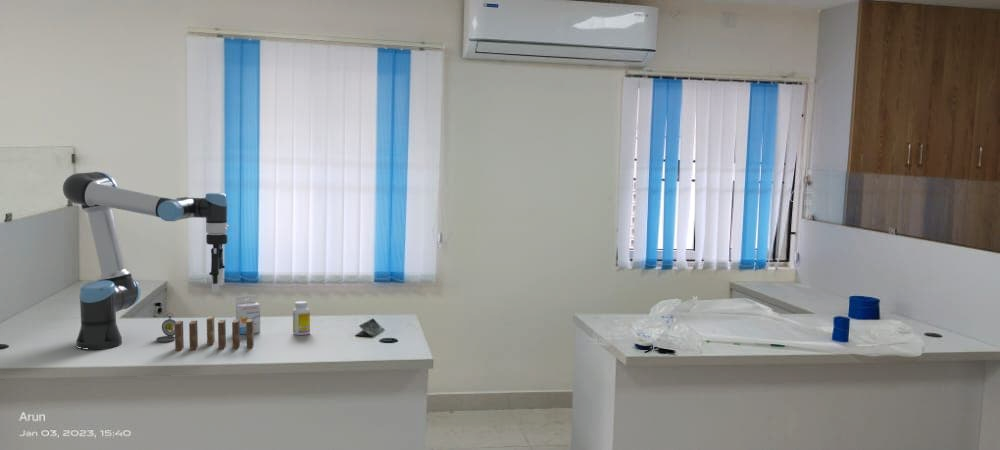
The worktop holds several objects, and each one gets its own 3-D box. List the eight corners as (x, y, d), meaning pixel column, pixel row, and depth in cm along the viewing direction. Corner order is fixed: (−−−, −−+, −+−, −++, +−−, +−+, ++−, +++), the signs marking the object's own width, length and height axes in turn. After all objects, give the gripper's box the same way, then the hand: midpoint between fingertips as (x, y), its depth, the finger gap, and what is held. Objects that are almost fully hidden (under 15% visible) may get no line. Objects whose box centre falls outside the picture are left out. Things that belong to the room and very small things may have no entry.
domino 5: (246, 348, 293) (246, 322, 292) (248, 345, 298) (247, 319, 297) (252, 348, 294) (251, 321, 293) (253, 344, 299) (253, 318, 298)
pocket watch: (157, 343, 299) (156, 317, 298) (155, 338, 306) (154, 313, 305) (180, 341, 302) (179, 315, 301) (178, 336, 310) (177, 311, 309)
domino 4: (232, 348, 292) (232, 322, 291) (234, 345, 297) (233, 319, 296) (238, 348, 293) (237, 322, 292) (239, 345, 298) (239, 319, 297)
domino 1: (175, 350, 288) (174, 324, 287) (178, 347, 293) (177, 321, 292) (181, 350, 289) (180, 323, 288) (183, 347, 294) (183, 320, 293)
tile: (207, 345, 297) (206, 319, 296) (209, 341, 302) (208, 316, 301) (212, 344, 298) (212, 318, 297) (214, 341, 302) (214, 316, 301)
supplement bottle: (313, 332, 319) (313, 301, 318) (302, 336, 313) (302, 304, 312) (300, 331, 322) (299, 300, 320) (289, 334, 316) (289, 302, 314)
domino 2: (189, 350, 289) (189, 323, 288) (192, 346, 294) (191, 320, 293) (195, 350, 290) (194, 323, 289) (197, 346, 295) (197, 320, 294)
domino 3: (218, 349, 291) (217, 322, 290) (220, 345, 296) (219, 319, 295) (224, 349, 292) (223, 322, 291) (225, 345, 297) (225, 319, 296)
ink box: (239, 335, 313) (238, 298, 312) (236, 332, 318) (235, 296, 316) (260, 332, 318) (260, 296, 317) (257, 330, 322) (256, 294, 321)
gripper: (223, 237, 289) (224, 294, 291) (230, 229, 313) (230, 282, 315) (202, 237, 287) (203, 294, 289) (210, 230, 311) (210, 283, 314)
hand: (217, 288), depth 302 cm, fingers open, 13 cm apart
